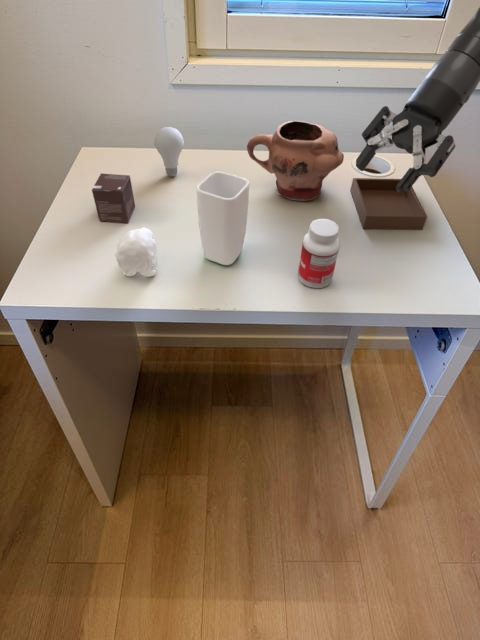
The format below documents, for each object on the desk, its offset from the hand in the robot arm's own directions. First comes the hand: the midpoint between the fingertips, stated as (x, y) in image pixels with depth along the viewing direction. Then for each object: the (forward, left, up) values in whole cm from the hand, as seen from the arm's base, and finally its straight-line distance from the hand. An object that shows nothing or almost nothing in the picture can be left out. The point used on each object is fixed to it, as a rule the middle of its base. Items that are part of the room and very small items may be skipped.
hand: (378, 179), depth 77 cm
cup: (+21, +15, -16) cm, 30 cm away
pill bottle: (+4, +11, -16) cm, 20 cm away
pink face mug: (+21, -12, -16) cm, 29 cm away
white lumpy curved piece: (+32, +25, -16) cm, 43 cm away
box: (+46, +16, -16) cm, 51 cm away
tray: (+1, -17, -16) cm, 23 cm away
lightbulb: (+46, -2, -16) cm, 49 cm away
